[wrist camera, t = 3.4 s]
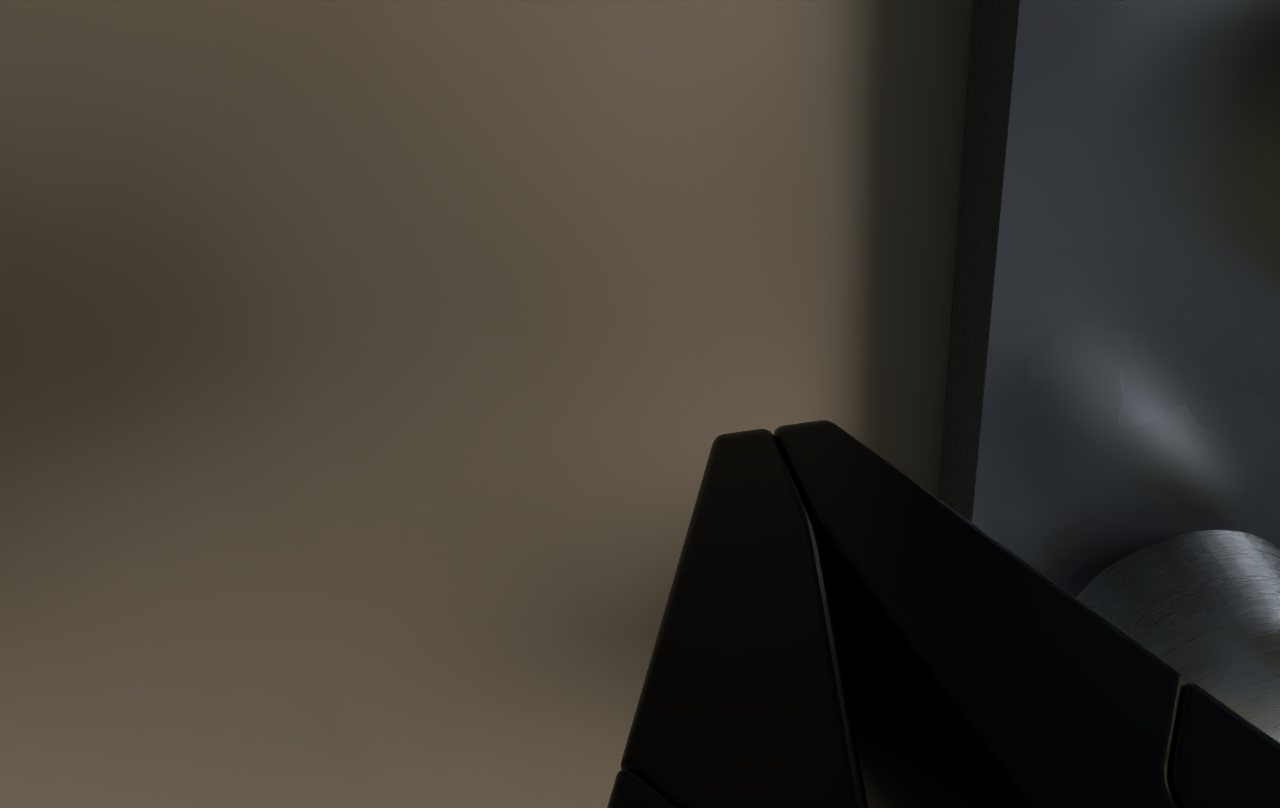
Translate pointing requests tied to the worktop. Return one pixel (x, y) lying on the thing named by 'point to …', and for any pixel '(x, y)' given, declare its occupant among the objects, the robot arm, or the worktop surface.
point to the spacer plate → (1127, 321)
